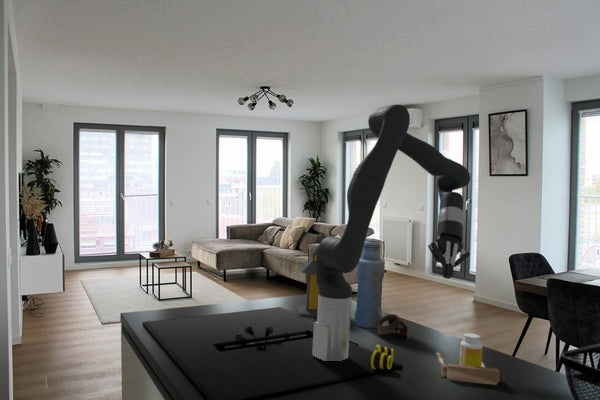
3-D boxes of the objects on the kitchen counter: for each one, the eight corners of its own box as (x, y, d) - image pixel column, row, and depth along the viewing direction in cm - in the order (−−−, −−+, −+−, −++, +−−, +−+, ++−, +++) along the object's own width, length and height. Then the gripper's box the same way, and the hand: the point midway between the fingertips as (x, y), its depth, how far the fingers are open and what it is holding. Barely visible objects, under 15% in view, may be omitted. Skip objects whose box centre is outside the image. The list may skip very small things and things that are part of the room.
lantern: (336, 318, 186) (340, 236, 185) (297, 316, 186) (302, 234, 185) (334, 309, 200) (338, 233, 199) (298, 307, 200) (302, 230, 199)
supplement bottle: (485, 376, 133) (488, 337, 133) (469, 378, 131) (471, 339, 131) (470, 369, 138) (472, 331, 138) (454, 371, 136) (456, 333, 136)
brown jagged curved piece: (412, 344, 161) (402, 322, 159) (384, 353, 163) (374, 332, 161) (409, 324, 172) (399, 304, 171) (383, 334, 174) (373, 313, 173)
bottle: (378, 330, 172) (383, 241, 172) (350, 326, 176) (354, 239, 175) (385, 324, 181) (389, 239, 180) (358, 320, 185) (362, 237, 184)
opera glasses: (390, 374, 131) (391, 355, 131) (370, 371, 133) (371, 352, 133) (393, 362, 141) (395, 344, 141) (374, 359, 142) (375, 342, 142)
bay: (432, 353, 151) (433, 341, 151) (481, 357, 149) (482, 345, 149) (443, 379, 129) (444, 365, 129) (501, 385, 127) (501, 371, 127)
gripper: (436, 214, 152) (432, 268, 144) (476, 226, 154) (474, 280, 146) (424, 223, 159) (420, 275, 151) (463, 234, 161) (461, 286, 153)
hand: (447, 277), depth 149 cm, fingers closed
